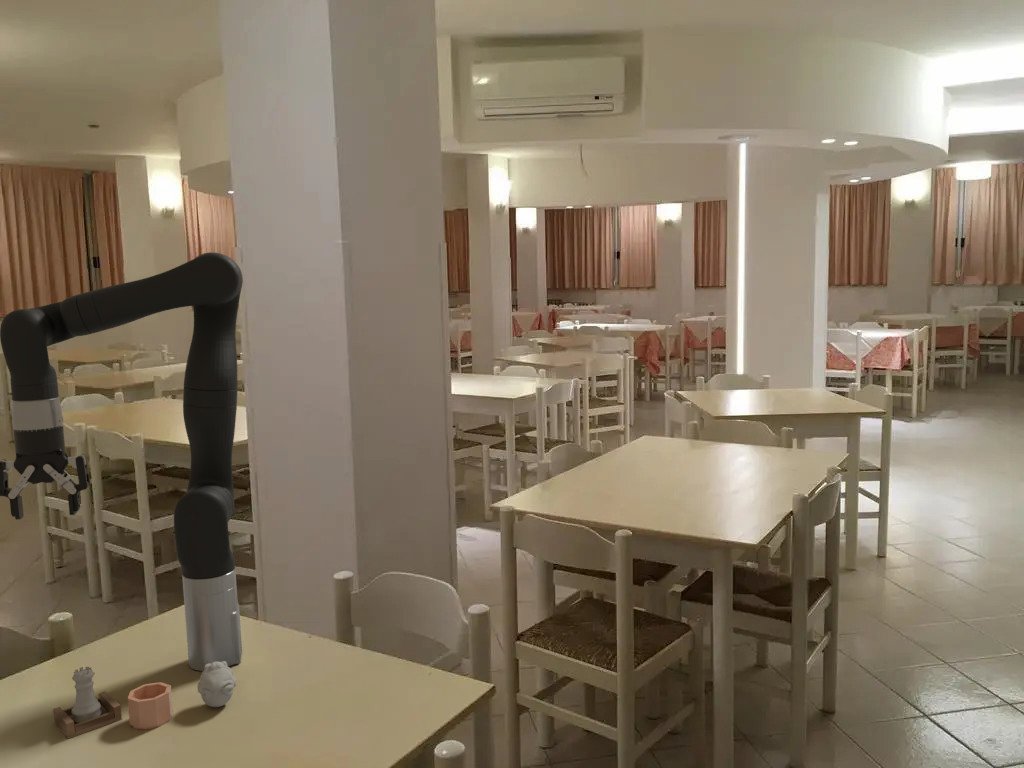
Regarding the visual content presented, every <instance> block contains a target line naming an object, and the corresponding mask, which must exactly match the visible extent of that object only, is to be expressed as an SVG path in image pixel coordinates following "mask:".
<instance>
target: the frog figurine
mask: <svg viewBox="0 0 1024 768" xmlns="http://www.w3.org/2000/svg"><path fill="white" fill-rule="evenodd" d="M236 685H237V680H236V677H235V676H234V671H233V670H232V669H231V668H230V666H227V662H226V661H222V662H218V661H216V662H213V663H211V664H210V663H209V664H206V665H205V667H204V671H201V675H200V676H199V682H198V683H197V692H198V693H199V694H200V696H201V699H202V701H203V703H205V705H207V706H209V707H210V708H220V707H223V706H224V705H226V704H227V703H228V702H229V701H230V700H231V698H232V696H233V693H234V689H235V687H236Z"/></svg>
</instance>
